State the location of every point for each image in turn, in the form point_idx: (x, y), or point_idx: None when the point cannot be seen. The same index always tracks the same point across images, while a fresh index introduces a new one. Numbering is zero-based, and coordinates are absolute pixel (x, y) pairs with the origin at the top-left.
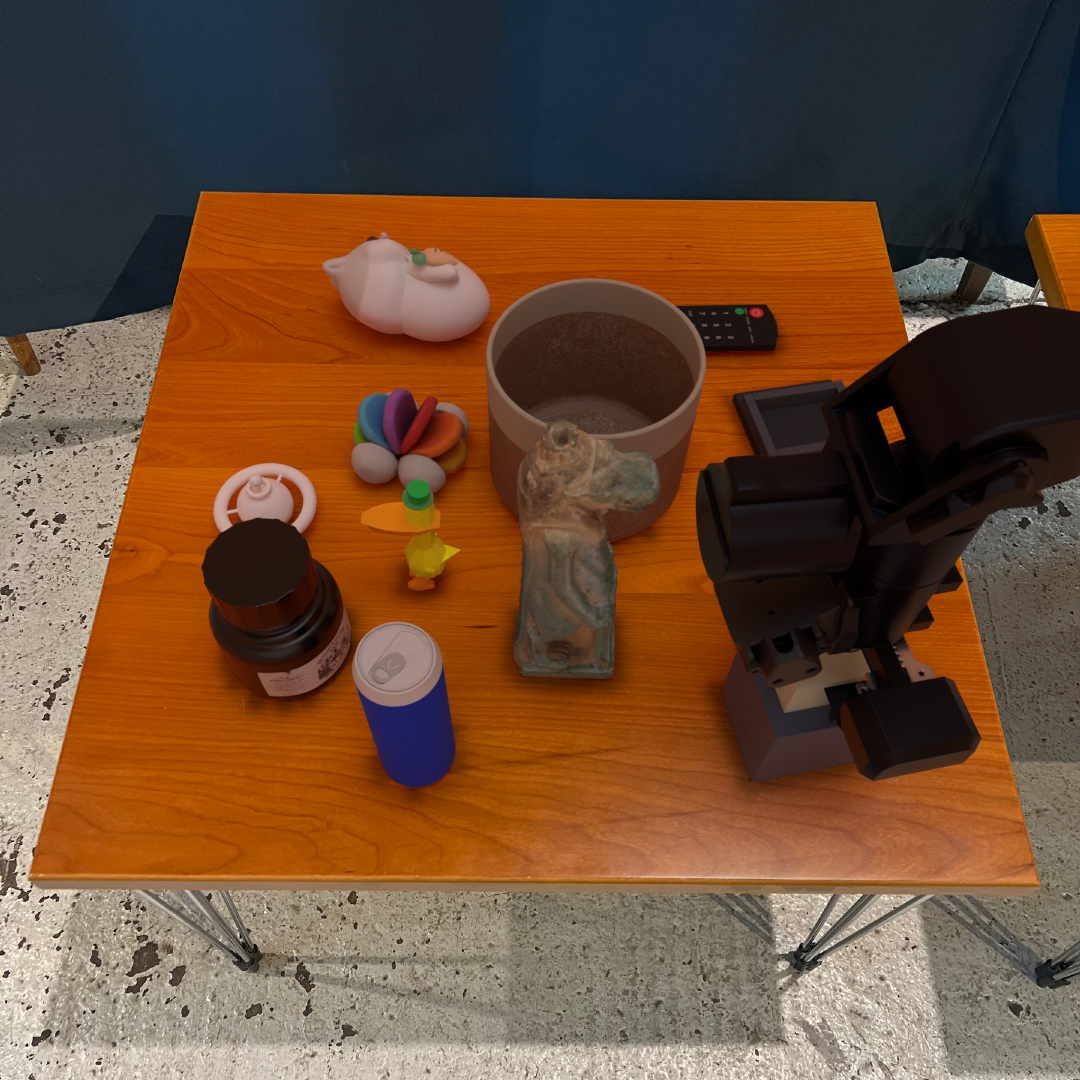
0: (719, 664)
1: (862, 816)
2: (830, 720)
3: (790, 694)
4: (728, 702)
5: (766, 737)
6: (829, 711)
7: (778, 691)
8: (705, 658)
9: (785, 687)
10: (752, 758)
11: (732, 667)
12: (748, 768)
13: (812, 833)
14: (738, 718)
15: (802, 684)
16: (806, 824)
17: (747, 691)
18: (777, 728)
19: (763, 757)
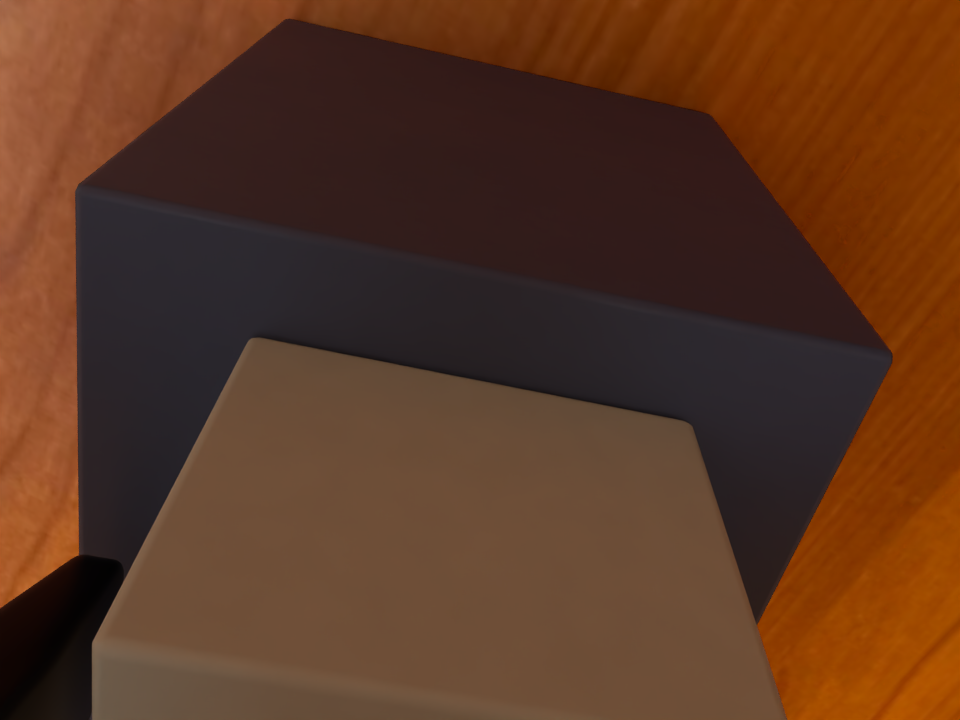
0: (817, 175)
1: (55, 336)
2: (63, 571)
3: (206, 502)
4: (639, 111)
5: (230, 143)
6: (78, 620)
7: (391, 390)
8: (876, 134)
9: (320, 484)
10: (321, 58)
11: (764, 205)
12: (333, 35)
13: (25, 142)
14: (534, 104)
15: (133, 711)
16: (64, 139)
17: (575, 200)
18: (151, 233)
19: (217, 84)
